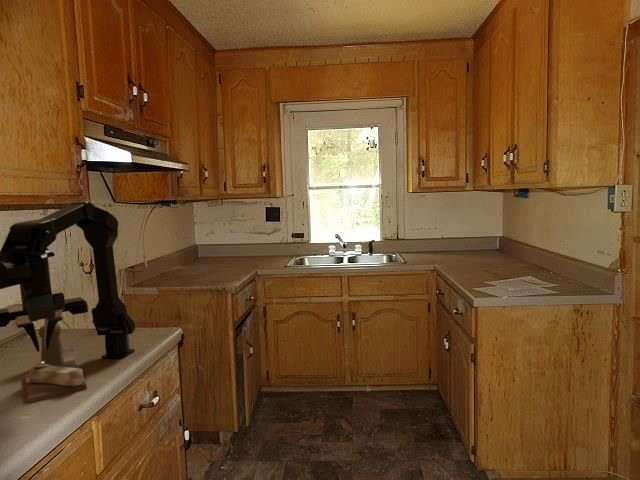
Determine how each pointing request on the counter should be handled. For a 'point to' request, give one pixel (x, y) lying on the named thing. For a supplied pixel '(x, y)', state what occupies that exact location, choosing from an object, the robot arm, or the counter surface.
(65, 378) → the latch arm
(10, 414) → the counter surface
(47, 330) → the robot arm
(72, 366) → the keeper
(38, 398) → the base plate
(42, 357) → the cork
